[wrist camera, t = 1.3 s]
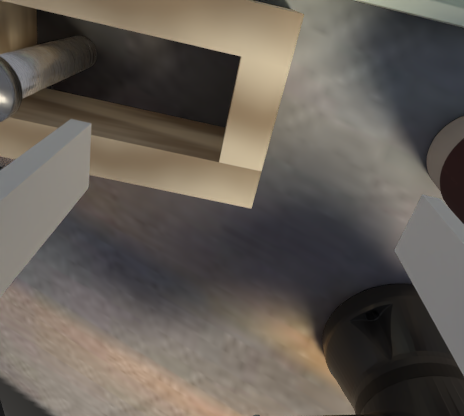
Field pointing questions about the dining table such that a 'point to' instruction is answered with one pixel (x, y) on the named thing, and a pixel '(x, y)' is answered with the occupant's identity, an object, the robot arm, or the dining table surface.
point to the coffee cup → (449, 165)
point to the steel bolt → (41, 69)
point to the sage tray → (426, 9)
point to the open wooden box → (161, 125)
